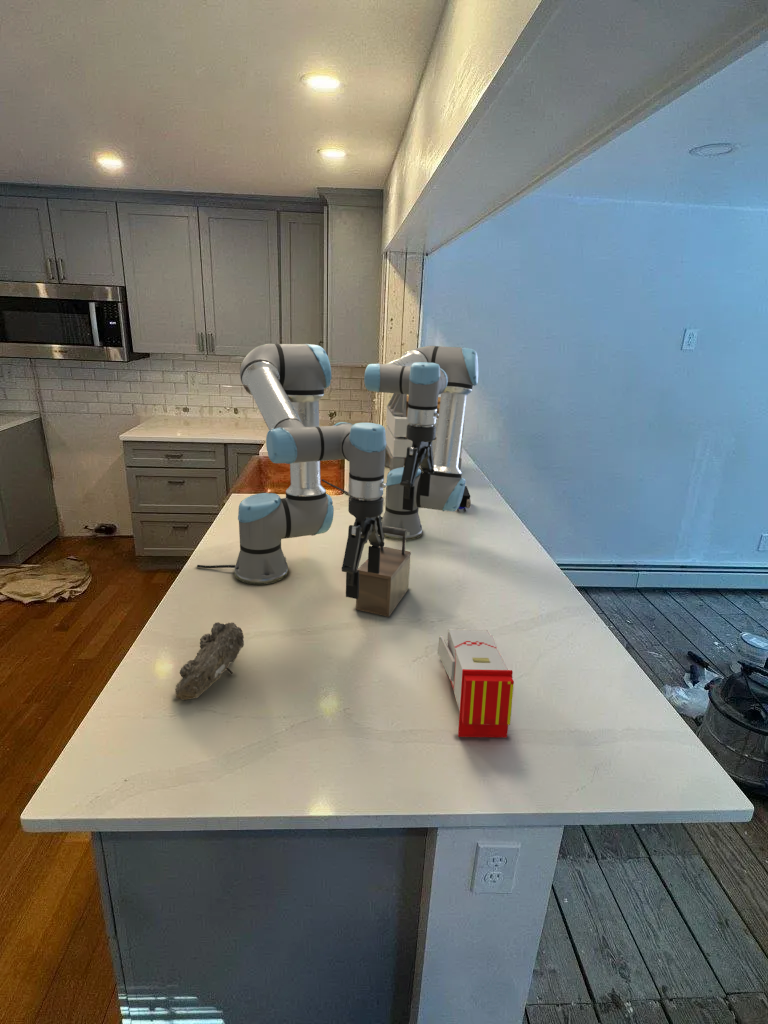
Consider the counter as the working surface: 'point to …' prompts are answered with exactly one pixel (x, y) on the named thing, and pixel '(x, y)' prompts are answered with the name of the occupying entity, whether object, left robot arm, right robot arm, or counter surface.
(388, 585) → the chest
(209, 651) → the fossil
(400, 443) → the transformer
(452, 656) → the toy
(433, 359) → the right robot arm
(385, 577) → the lid
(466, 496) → the figurine character
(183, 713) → the counter surface
